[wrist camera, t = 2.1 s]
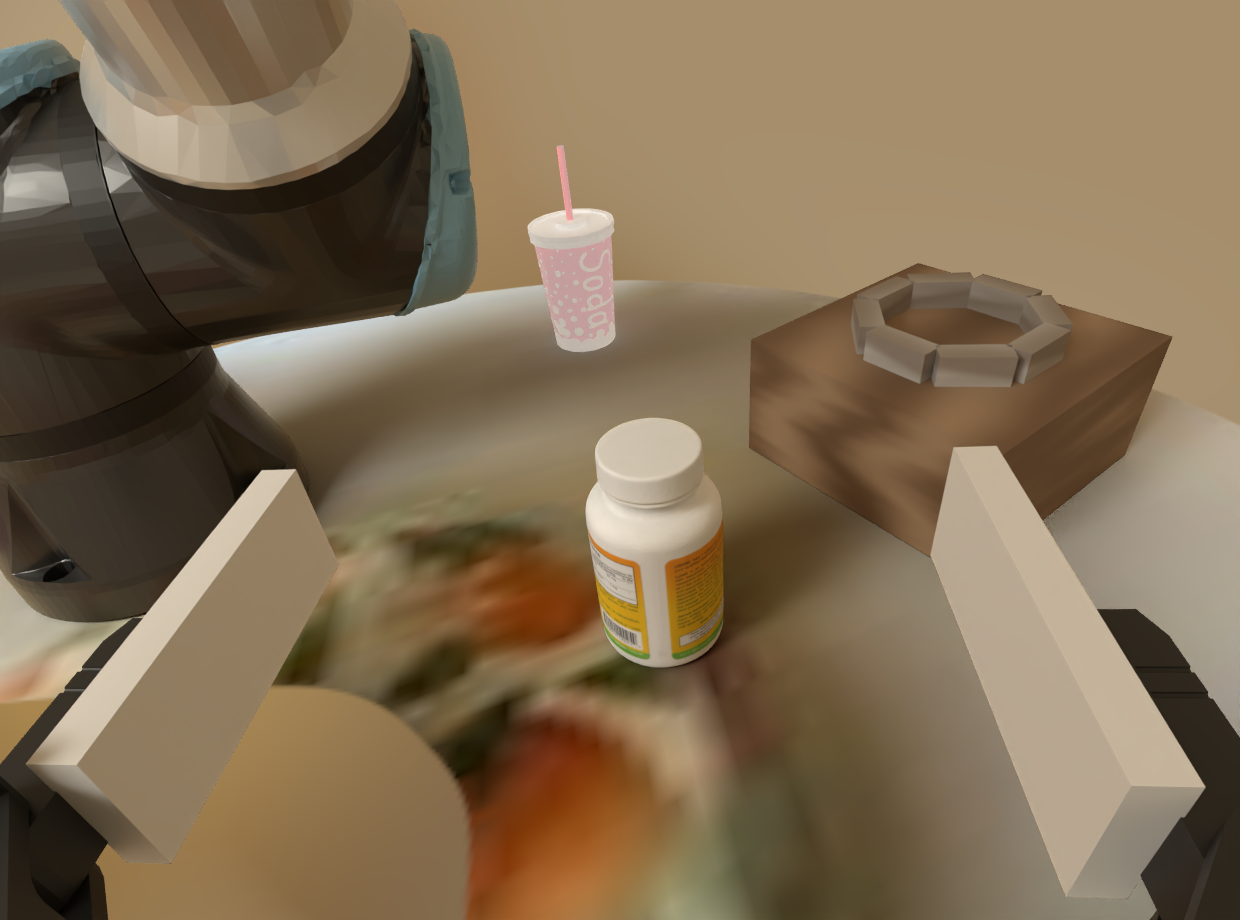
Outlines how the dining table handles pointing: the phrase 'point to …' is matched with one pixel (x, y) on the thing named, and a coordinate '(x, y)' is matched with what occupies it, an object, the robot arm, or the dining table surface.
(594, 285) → the beverage cup
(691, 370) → the dining table surface
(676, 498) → the supplement bottle
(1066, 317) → the carrier block
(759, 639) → the dining table surface
